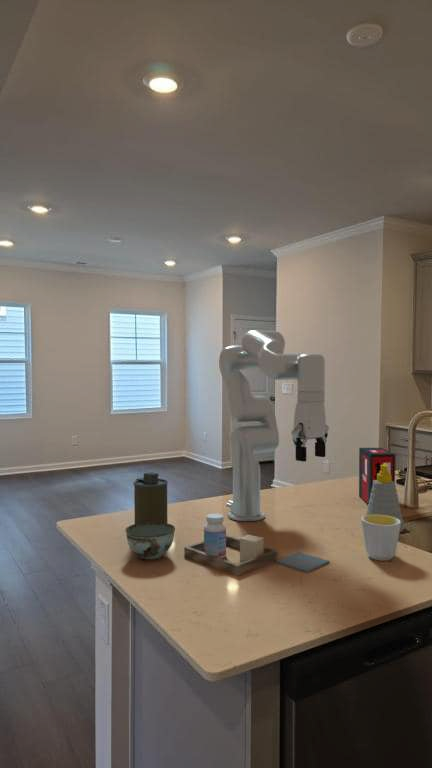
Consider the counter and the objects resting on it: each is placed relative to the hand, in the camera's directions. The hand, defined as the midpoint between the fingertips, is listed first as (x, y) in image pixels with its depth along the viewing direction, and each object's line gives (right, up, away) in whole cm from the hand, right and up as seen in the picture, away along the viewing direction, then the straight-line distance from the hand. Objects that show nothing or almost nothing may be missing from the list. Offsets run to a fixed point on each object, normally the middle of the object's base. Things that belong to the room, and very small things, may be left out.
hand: (310, 458), depth 150 cm
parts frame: (-23, -26, -5) cm, 35 cm away
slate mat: (-4, -27, -9) cm, 28 cm away
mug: (+19, -27, -3) cm, 33 cm away
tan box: (-17, -27, -6) cm, 32 cm away
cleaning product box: (+35, -25, +55) cm, 70 cm away
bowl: (-45, -27, -4) cm, 52 cm away
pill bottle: (-27, -27, -3) cm, 38 cm away
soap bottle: (+28, -26, +22) cm, 44 cm away
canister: (-47, -26, +12) cm, 55 cm away
